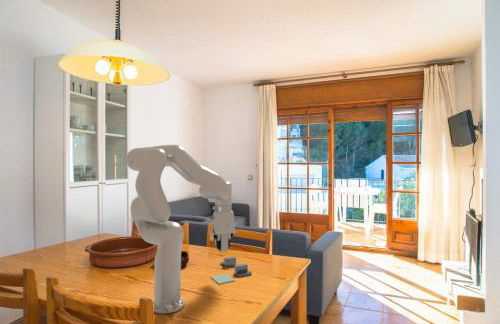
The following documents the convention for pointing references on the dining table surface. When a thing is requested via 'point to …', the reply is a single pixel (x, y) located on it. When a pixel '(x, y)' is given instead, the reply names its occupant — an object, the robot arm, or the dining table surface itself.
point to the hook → (223, 242)
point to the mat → (222, 278)
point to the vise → (236, 267)
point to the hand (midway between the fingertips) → (223, 247)
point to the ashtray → (184, 258)
